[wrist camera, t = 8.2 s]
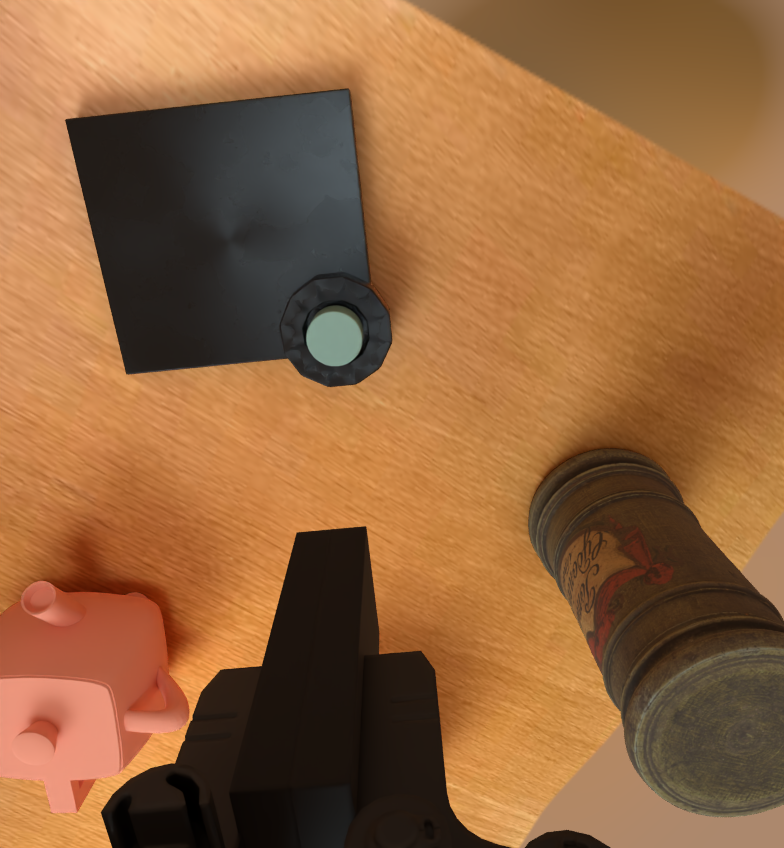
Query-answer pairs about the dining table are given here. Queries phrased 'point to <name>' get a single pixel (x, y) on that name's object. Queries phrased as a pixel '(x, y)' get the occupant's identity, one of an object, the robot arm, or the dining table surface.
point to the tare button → (335, 335)
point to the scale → (231, 231)
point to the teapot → (81, 688)
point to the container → (668, 632)
